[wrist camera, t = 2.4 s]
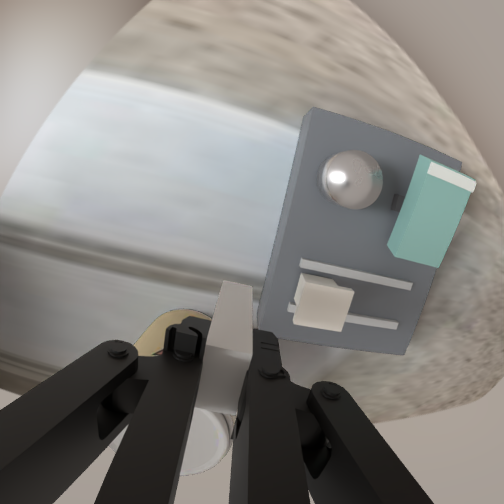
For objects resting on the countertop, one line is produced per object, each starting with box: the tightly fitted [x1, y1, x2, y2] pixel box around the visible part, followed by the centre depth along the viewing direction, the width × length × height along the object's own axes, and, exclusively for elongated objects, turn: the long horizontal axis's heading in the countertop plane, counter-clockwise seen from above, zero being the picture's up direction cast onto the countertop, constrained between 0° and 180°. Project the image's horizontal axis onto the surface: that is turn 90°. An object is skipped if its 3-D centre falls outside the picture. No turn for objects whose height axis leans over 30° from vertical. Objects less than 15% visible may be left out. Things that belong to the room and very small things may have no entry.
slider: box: [293, 273, 354, 332], centre depth 21 cm, size 3×3×4 cm
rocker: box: [387, 155, 477, 268], centre depth 20 cm, size 4×7×2 cm, turn 167°
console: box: [257, 107, 462, 355], centre depth 24 cm, size 13×17×5 cm
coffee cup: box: [109, 309, 233, 476], centre depth 23 cm, size 9×9×12 cm
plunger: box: [317, 150, 383, 209], centre depth 20 cm, size 4×4×3 cm
